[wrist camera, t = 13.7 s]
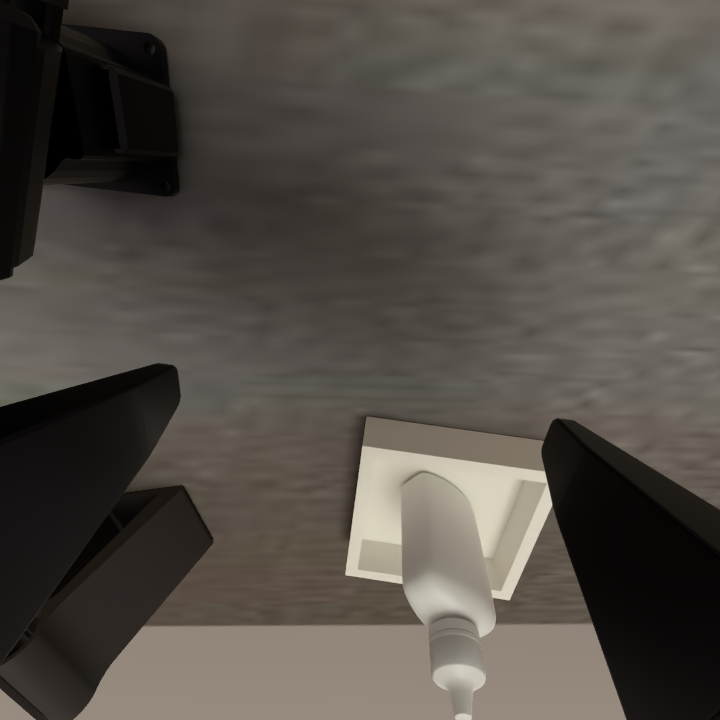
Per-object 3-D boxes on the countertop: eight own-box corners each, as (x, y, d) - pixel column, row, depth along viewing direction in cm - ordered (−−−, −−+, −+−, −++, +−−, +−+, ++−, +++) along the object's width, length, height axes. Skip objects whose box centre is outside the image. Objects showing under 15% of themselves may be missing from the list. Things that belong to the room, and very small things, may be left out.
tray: (349, 538, 30) (345, 574, 27) (366, 416, 25) (362, 445, 22) (499, 561, 30) (509, 600, 27) (547, 441, 25) (565, 474, 22)
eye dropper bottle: (416, 531, 28) (426, 750, 18) (396, 473, 26) (395, 684, 15) (476, 522, 27) (526, 748, 17) (461, 462, 25) (508, 678, 15)
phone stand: (184, 484, 29) (60, 667, 19) (215, 539, 32) (120, 728, 21) (84, 497, 31) (-83, 670, 20) (120, 548, 33) (-12, 727, 23)
